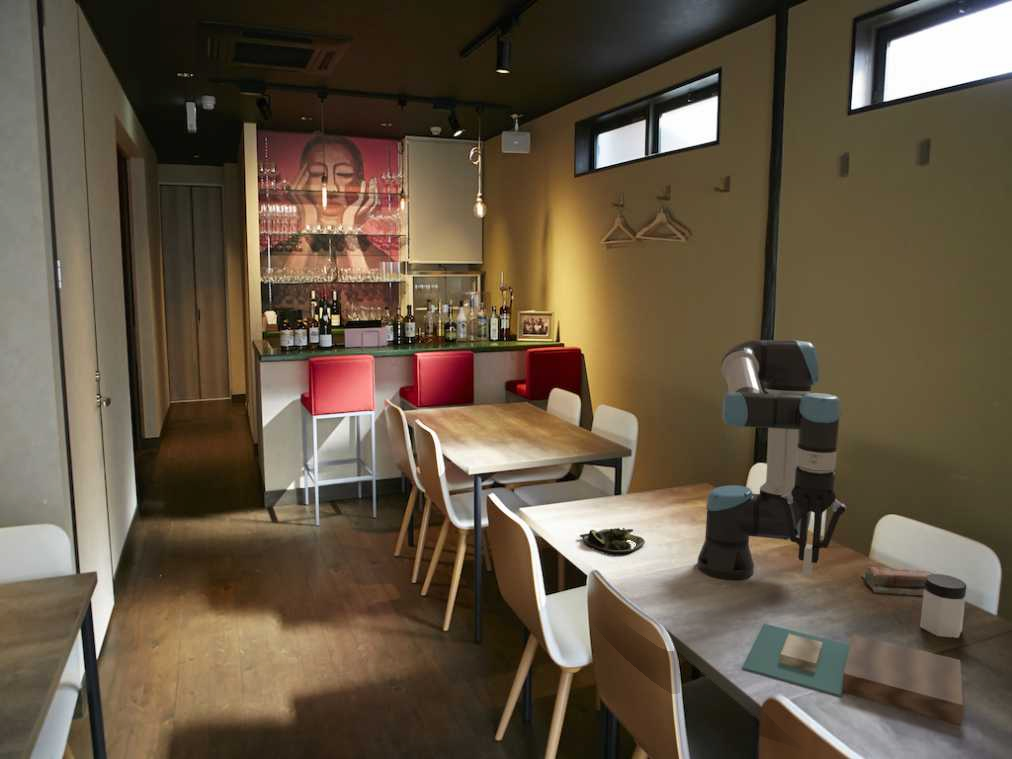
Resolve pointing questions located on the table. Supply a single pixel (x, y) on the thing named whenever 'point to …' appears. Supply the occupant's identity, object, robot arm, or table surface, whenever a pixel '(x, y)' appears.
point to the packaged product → (896, 580)
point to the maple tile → (801, 652)
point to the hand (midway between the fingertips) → (807, 575)
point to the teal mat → (768, 663)
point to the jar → (943, 605)
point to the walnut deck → (904, 678)
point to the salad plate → (612, 541)
